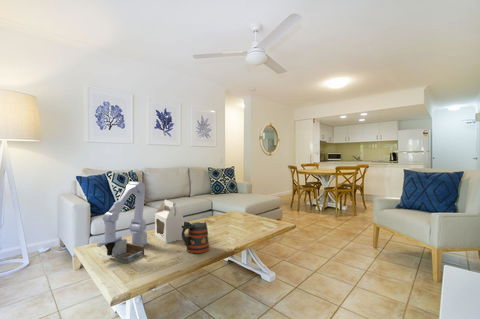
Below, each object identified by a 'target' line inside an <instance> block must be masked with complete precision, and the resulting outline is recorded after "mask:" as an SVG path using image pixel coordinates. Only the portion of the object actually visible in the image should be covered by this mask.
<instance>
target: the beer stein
mask: <svg viewBox="0 0 480 319" xmlns="http://www.w3.org/2000/svg"><path fill="white" fill-rule="evenodd" d="M182 228H183V230H182V241H183V242H184V246H185V247H186V251H187V252H188V253H190V254H196V253H197V254H202V253H206V252H208V251H209V250H210V246H209V245H210V242H209V232H208V225H207V222H206V221H205V222H193V223H190V222H188V221H183V226H182ZM187 230H188V232H187V236H186V235H185V232H186V231H187Z"/></svg>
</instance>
